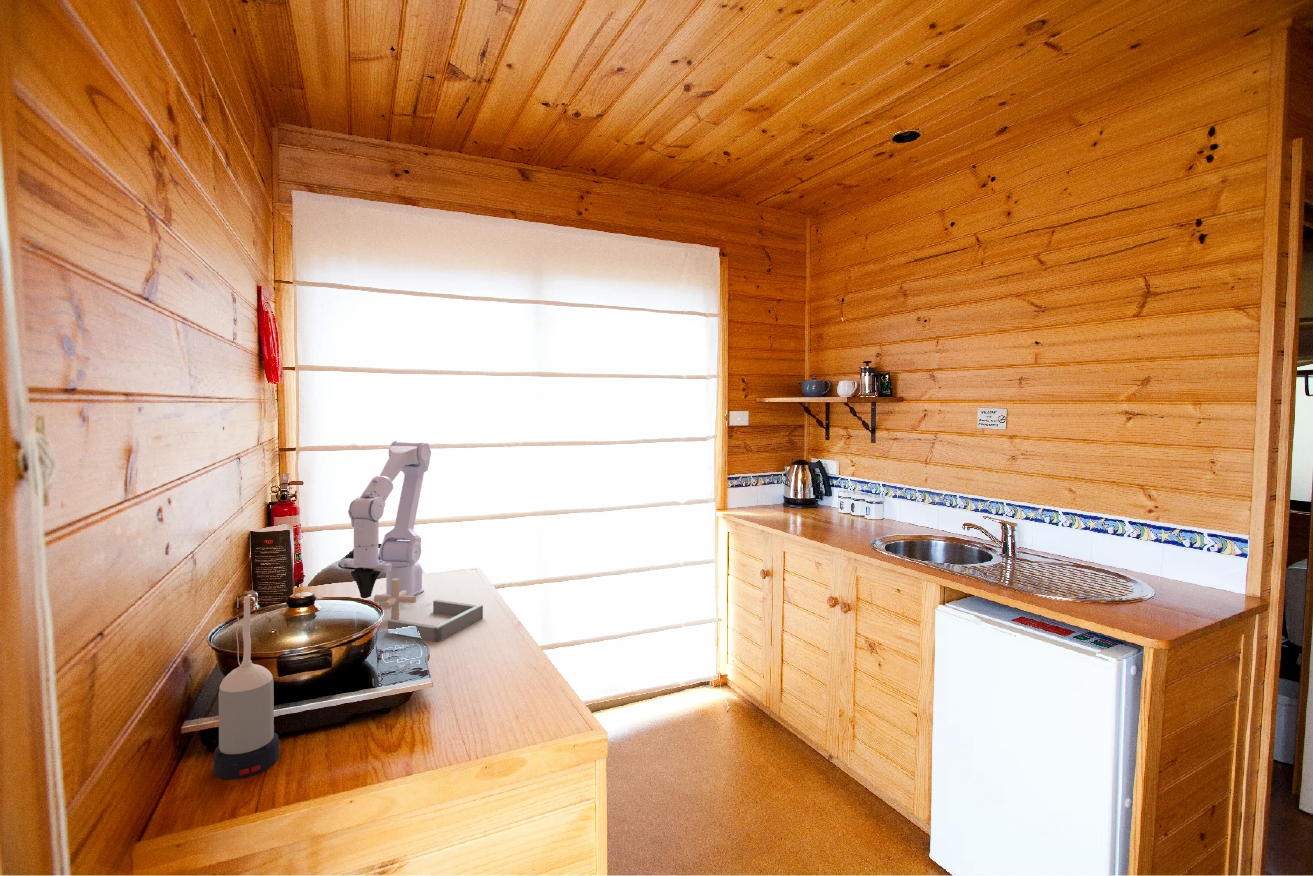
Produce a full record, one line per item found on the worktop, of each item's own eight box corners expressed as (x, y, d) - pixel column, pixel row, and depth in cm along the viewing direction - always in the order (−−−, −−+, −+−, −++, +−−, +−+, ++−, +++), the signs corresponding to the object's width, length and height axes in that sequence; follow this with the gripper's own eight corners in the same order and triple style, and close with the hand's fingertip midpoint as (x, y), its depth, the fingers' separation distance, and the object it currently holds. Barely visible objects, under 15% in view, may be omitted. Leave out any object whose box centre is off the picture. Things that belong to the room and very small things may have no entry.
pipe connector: (406, 626, 148) (406, 585, 147) (365, 625, 148) (365, 584, 147) (423, 612, 158) (423, 574, 157) (385, 611, 158) (385, 573, 157)
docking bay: (387, 633, 143) (387, 619, 143) (436, 610, 159) (436, 598, 159) (438, 641, 138) (438, 627, 138) (482, 617, 155) (482, 605, 155)
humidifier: (243, 784, 85) (242, 608, 84) (199, 773, 87) (197, 602, 86) (292, 753, 93) (292, 591, 92) (250, 744, 95) (249, 586, 94)
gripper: (331, 545, 153) (331, 598, 154) (377, 550, 149) (377, 605, 149) (353, 539, 160) (353, 590, 161) (397, 544, 156) (397, 597, 156)
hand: (366, 597), depth 155 cm, fingers closed
